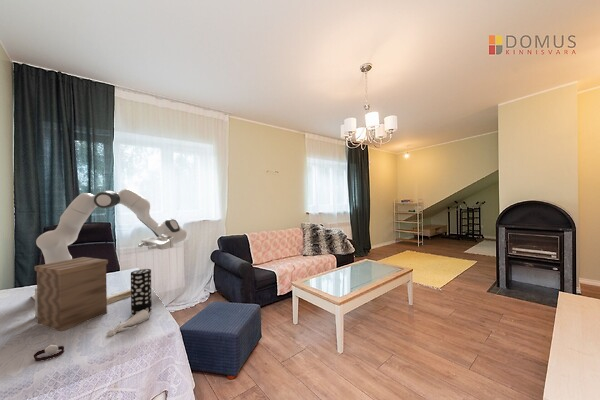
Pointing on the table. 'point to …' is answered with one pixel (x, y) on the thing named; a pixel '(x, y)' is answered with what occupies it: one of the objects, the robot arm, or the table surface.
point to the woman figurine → (130, 322)
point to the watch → (49, 350)
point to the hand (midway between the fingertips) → (143, 247)
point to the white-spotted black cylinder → (141, 291)
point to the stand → (71, 292)
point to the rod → (118, 296)
